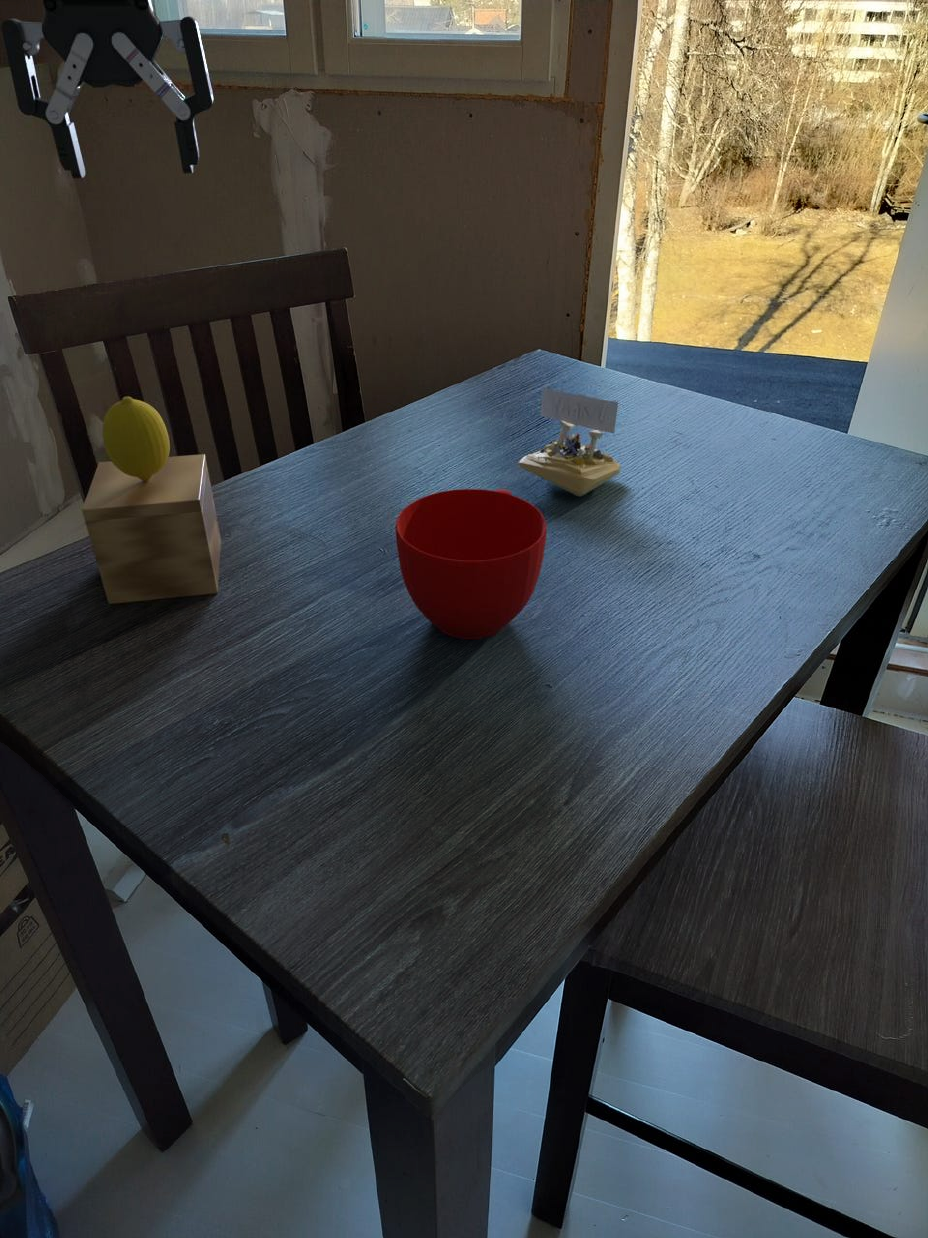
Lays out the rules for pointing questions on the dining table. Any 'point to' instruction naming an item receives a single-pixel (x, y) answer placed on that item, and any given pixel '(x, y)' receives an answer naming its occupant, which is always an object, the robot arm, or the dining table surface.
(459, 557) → the ceramic cup
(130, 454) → the lemon
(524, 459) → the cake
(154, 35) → the robot arm
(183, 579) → the wooden cube
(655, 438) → the dining table surface
